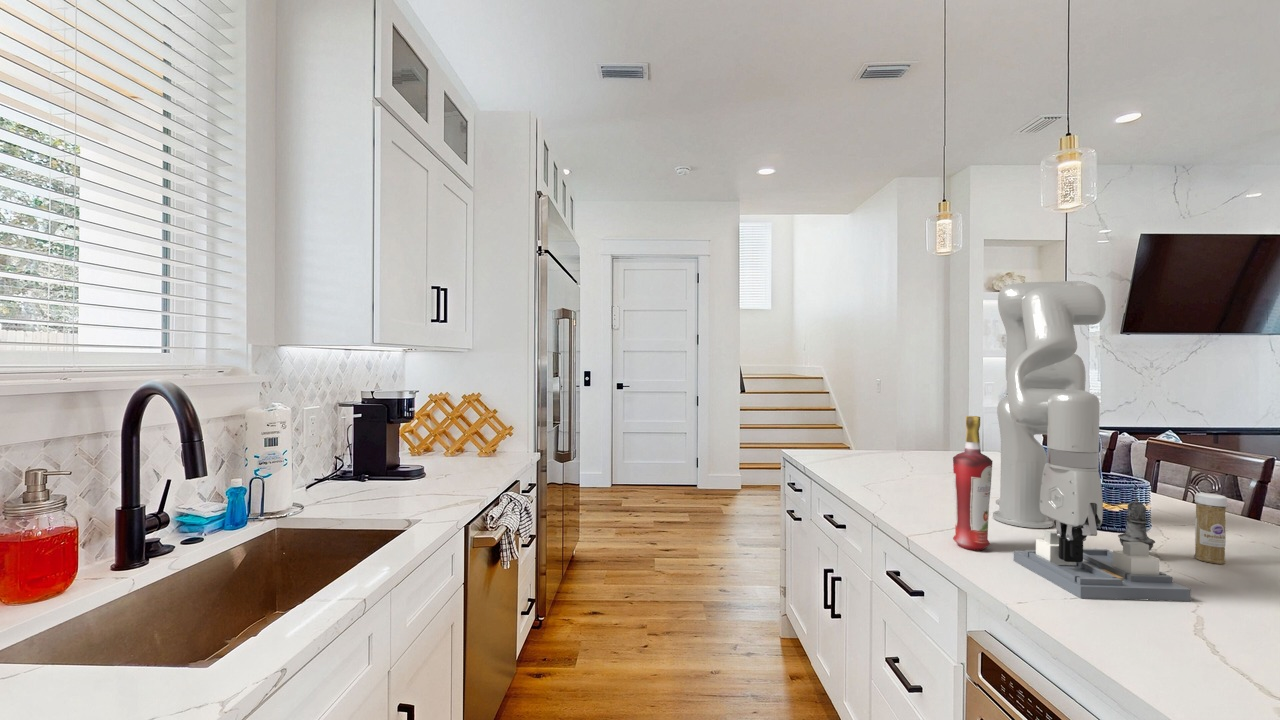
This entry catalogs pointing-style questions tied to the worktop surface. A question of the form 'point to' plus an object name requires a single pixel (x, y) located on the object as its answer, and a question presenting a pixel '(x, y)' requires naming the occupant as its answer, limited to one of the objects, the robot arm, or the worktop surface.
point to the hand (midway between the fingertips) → (1070, 560)
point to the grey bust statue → (1136, 525)
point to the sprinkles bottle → (1210, 528)
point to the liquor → (972, 491)
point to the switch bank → (1103, 578)
